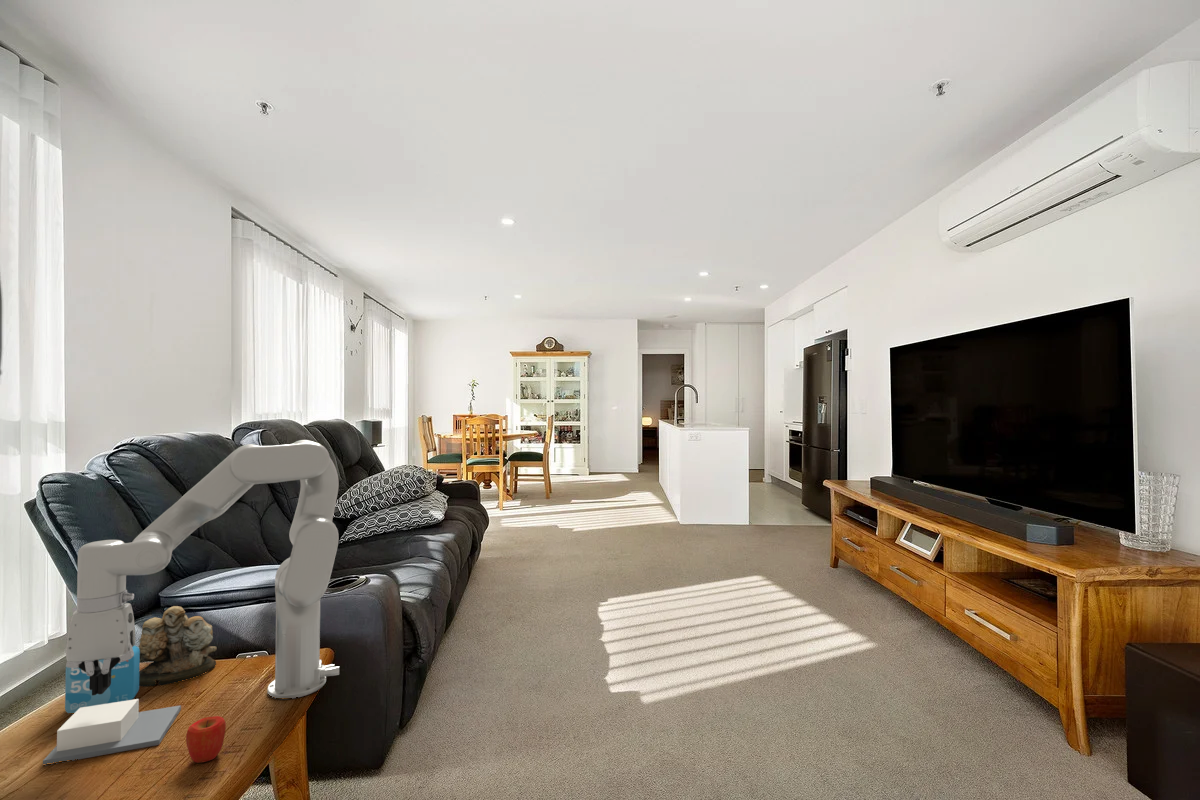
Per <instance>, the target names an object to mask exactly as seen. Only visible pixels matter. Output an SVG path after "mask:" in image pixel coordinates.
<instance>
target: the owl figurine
mask: <svg viewBox="0 0 1200 800" xmlns="http://www.w3.org/2000/svg"><path fill="white" fill-rule="evenodd" d="M213 632H214V631H213V626H212V624H210V623H208V622H207V621H206V620H204V617H202V616H200V615H195V616H192V617H191V616H190V617H188V615H187V614H186V611H185V609H184V608H183V607H182V606H178V605H173V606H171V607H169V608H167V609H166V610H165V611H164V612H163V615H162V618H160V617H151V618H149V619H147V620H146V621H144V622H143V624H142V629H141V635H140V638H139V639H138V642H139V644H138V648H139V650H140V663H141V664H142V663H149V662H150V663H149V664H147V665H146V666H145V667H143V668H142V669H139V687H150V686H152V687H154V686H156V685H159V686H165V685H171V684H175V683H174V682H176V683H179V682H178V681H181V682H183V681H182V680H185V681H187V680H186V679H188V680H191V679H190V678H192V679H194V678H193V677H195V678H197V677H196V676H198V677H200V676H202V675H201V674H203V673H205V672H207V671H208V672H209V671H210V670H211V669H212V668H214V669H215V668H216V666H217V662H216V659H214V658H212V657H211V656H209V655H211V654H213V653H215V652H216V651H217V646H211V645H210V644H211V643H212V641H213V638H214V637H213V636H214V635H213ZM215 665H216V666H215ZM212 670H213V669H212ZM212 670H211V671H212ZM208 672H207V673H208ZM205 674H206V673H205ZM199 675H200V676H199ZM203 675H204V674H203ZM157 681H158V682H157ZM170 683H171V684H170Z"/></svg>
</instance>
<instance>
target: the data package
mask: <svg viewBox="0 0 1200 800" xmlns="http://www.w3.org/2000/svg"><path fill="white" fill-rule="evenodd" d="M132 648H133V652H134V656H133V657H132V658H131V659H129V660H126V661H123V662H120V663H118V664H117V665H115V666H114V667H113V668H112V669H111V685H110V686H109V687H108V688H107V690H106V691H105V692H104V693H103V694H96V695H93V696H92V690H90V689H89V683H90V676H87V674H86V672H84V671H83V670H81V669H80V668H68V667H66V666H65V688H64V689H65V690H64V691H65V693H64V694H65V695H64V698H65V699H64V710H65V712H66V713H67V714H69V713H75V712H76V711H77V710H78V709H79V708H81V707H88V706H94V705H101V704H107V703H114V702H121V701H127V700H134V699H135V697H136V696H137V694H138V693H139V691H140V686H139V671H140V650H139V646H136V645H134V647H132ZM103 661H104V659H101V660H99V664H100V668H101V669H102V666H103Z"/></svg>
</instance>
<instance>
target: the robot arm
mask: <svg viewBox="0 0 1200 800" xmlns="http://www.w3.org/2000/svg"><path fill="white" fill-rule="evenodd" d="M291 481H299V482H300V489H299V495H298V501H297V506H296V508H295V513H294V516H293V520H292V522H291V526H290V529H289V534H288V536H289V541H290V542H291V545H292V548H291V552H290V556H289V557H288V558H286V559H285V560H283V562H282V563H280V564H279V566H278V568H277V570H276V573H275V576H274V577H275V578H274V591H275V592H274V593H275V611H276V612H275V660H274V662H275V668H274V672H275V673H274V674H275V676H274V680H272V681H271V682H270V683H269V684H268V686H267V695H268V694H269V695H270V696H272V697H271V698H273V697H275V698H274V699H276V698H292V699H297V698H296V697H298V698H301V697H304V696H308V695H310V694H313V693H315V692H317V691H318V690H320V689H322V688H323V686H325V684H326V682H327V677H334V676H339V675H340V666H335V663H334V664H333V663H331V664H327V665H325V664H323V663H322V661H323V660H322V659H320V648H321V646H320V645H321V641H320V640H321V639H320V638H321V632H320V631H321V599H322V597H323V596H324V595H325V593H326V591H327V589H328V586H329V583H330V580H331V575H332V572H333V568H334V564H335V560H336V559H335V558H336V555H337V551H338V546H339V539H340V538H339V530H338V528H337V526H336V524H335V523H334V522H333V518H334V514H335V510H336V509H335V508H336V504H337V500H338V499H337V498H338V493H339V487H340V485H339V484H340V483H339V475H338V470H337V468H336V465H335V464H334V462H333V460H332V458H331V457H330V453H329V451H328V449H327V448H326V447H325V446H324V445H322V444H321V443H319V442H315V441H312V440H309V439H300V440H296V441H295V442H293V443H290V444H280V445H279V444H276V445H258V444H254V443H253V444H251V443H249V444H247V443H246V444H244V445H240V446H239V447H237V448H236V449H234V450H233V451H232V452H231V453H230V454H229V455H227V457H226V458H224V459H223V460H222V461H221V462H220V463H219V464H217V466H215V467H214V468H213V469H212V470H211V471H209V473H208V474H206V475H205V476H203V478H201V479H200V481H198V482H197V483H196V484H195V485H194V486H193V487H191V488H190V489H189V490H188V491H186V493H185V494H183V496H181V497H180V498H179V499H178V500H177V501H176V502H174V504H172V505H171V506H170V507H169V508H167V509H166V510H165V511H164V512H162V514H160V515H158V517H157V518H156V519H154V520H153V521H152V522H151V523H150V524H149V525H148V526H147V527H145V529H144V530H142V531H141V532H140V533H139V534H137V536H136V537H135V538H134V539H133V540H132V542H124V541H123V540H121V539H104V540H97V541H92V542H88V543H85V544H84V545H81V547H80V548H79V549H78V551H77V575H76V576H77V579H76V580H77V584H76V585H77V586H76V587H77V588H76V610H74V611H73V613H72V616H71V619H70V623H69V627H68V632H67V638H66V644H65V645H66V646H65V648H66V649H65V659H66V663H65V668H66V667H68V668H80V669H81V670H83V671H84V672H86V674H87V676H90V683H89V689H90V690H92V696H93V695H96V694H103V693H104V692H105V691H106V690H107V688H108V687H109V686H110V685H111V669H112V668H113V667H114V666H115V665H117V664H118V663H120V662H123V661H126V660H129V659H131V658H132V657H133V656H134V652H133V648H132V647H134V646H136V628H135V627H136V626H135V617H134V611H133V607H132V604H131V603H129V602H130V601H133V600H134V599H135V594H134V593H133V592H132V593H130V592H129V591H128V589H127V576H148V575H154V574H156V573H159V572H161V571H162V570H164V569H165V568H166V567H167V566H168V565H169V563H170V562H171V560H172V555H173V554H172V553H173V551H174V550H175V549H176V548H177V547H178V546H179V545H180V544H182V543H183V541H184V540H186V539H187V538H189V536H191V534H193V533H194V532H195V531H197V529H198V528H200V527H202V526H203V525H204V524H205V523H206V524H207V523H208V522H209V521H212V520H215V519H217V518H218V517H220V516H222V515H223V514H225V512H226V511H228V510H229V509H230V507H231V506H233V505H234V504H235V503H236V502H237V501H238V500H239V499H240V498H242V497H243V495H244V494H246V492H248V490H250V489H251V488H253V486H254V485H259V484H261V485H262V484H263V485H264V484H275V483H283V482H291ZM101 659H104V661H103V666H102V669H101V668H100V664H99V660H101ZM269 695H268V696H269ZM270 696H269V697H270Z"/></svg>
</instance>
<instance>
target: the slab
mask: <svg viewBox="0 0 1200 800" xmlns="http://www.w3.org/2000/svg"><path fill="white" fill-rule="evenodd" d="M139 701H140V699H139V698H136V699H135V698H133V700H127V701H121V702H114V703H107V704H101V705H94V706H88V707H81V708H79V709H78V710H77V711H76V712H75V713H74V714H71V716H70V717H69V718H68V719H67V720H66V721H65V722H64V723H63V724H62V725H61V727H59V728H58V729H57V731H56V733H57V734H56V746H57V751H63V750H69V749H75V748H80V747H86V746H92V745H98V744H103V743H109V742H115V741H121V740H122V738H123V737H124V736H125V734H126V733H127V732H128V730H129V729H130V728H131V726H132V725H133V724H134V723H135V721H136V720H137V719H138V716H139V712H140V711H139V707H140V702H139Z"/></svg>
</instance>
